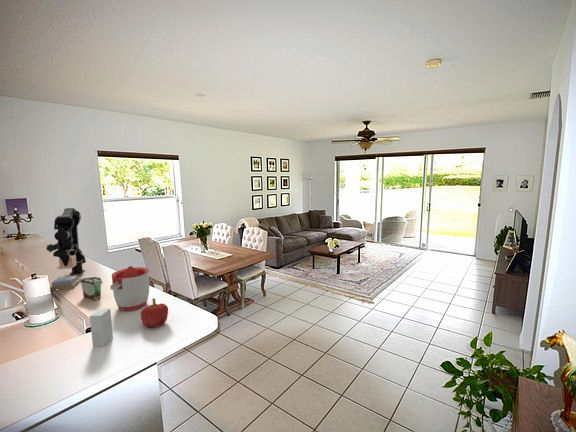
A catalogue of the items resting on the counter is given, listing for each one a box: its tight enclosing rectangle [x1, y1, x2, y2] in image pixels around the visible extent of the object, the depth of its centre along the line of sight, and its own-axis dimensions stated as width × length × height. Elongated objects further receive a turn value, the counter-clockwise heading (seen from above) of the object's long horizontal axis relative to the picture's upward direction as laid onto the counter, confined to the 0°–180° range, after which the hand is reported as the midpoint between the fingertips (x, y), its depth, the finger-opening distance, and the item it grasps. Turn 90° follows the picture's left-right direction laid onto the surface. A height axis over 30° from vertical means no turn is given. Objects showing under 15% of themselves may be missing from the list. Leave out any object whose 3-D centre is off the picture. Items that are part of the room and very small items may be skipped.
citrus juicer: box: [110, 265, 150, 312], centre depth 132 cm, size 16×17×20 cm
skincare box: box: [89, 308, 114, 347], centre depth 103 cm, size 6×4×12 cm
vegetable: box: [140, 298, 169, 328], centre depth 116 cm, size 11×10×10 cm
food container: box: [80, 276, 103, 302], centre depth 143 cm, size 12×6×10 cm, turn 65°
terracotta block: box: [58, 255, 77, 269], centre depth 159 cm, size 6×6×6 cm
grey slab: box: [51, 275, 78, 287], centre depth 158 cm, size 9×9×2 cm
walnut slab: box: [50, 278, 82, 291], centre depth 159 cm, size 11×11×2 cm
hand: (68, 264), depth 159 cm, fingers closed on terracotta block, 6 cm apart
